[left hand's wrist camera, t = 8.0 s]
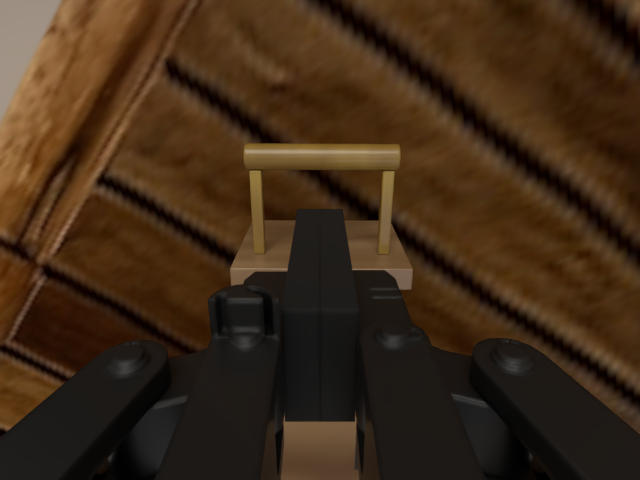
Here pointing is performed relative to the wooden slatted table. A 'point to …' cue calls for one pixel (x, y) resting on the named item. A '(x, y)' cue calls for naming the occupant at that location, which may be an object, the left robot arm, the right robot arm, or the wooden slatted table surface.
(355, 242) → the drawer
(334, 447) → the cabinet
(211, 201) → the wooden slatted table surface
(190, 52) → the wooden slatted table surface
